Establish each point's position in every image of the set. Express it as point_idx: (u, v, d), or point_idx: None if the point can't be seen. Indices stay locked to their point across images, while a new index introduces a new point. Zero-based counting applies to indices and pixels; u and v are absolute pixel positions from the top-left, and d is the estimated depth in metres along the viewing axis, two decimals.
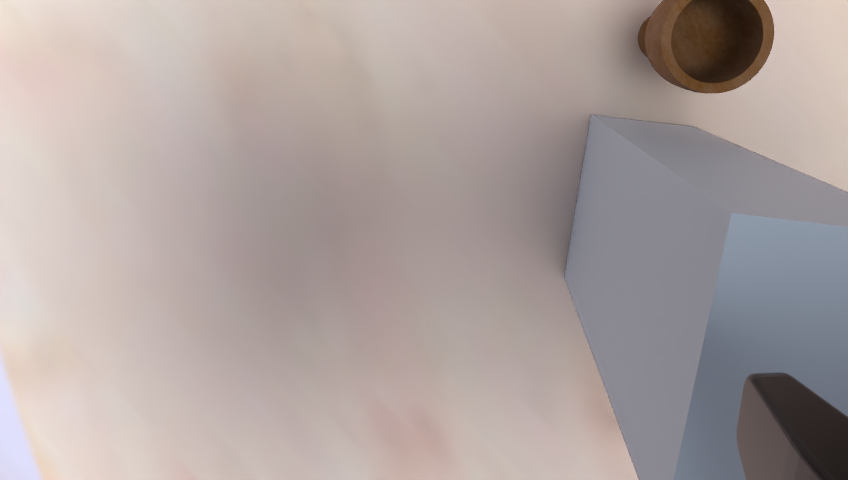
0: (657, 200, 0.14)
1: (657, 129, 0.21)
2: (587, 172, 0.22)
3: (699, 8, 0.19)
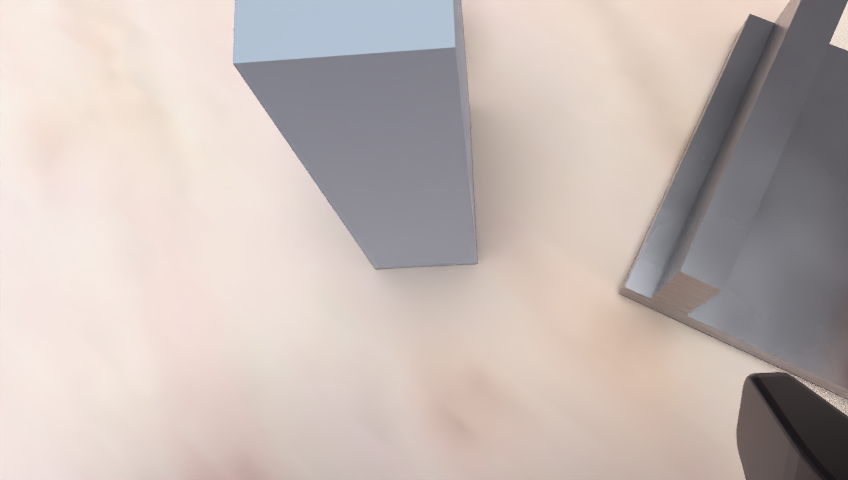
0: None
1: None
2: None
3: None
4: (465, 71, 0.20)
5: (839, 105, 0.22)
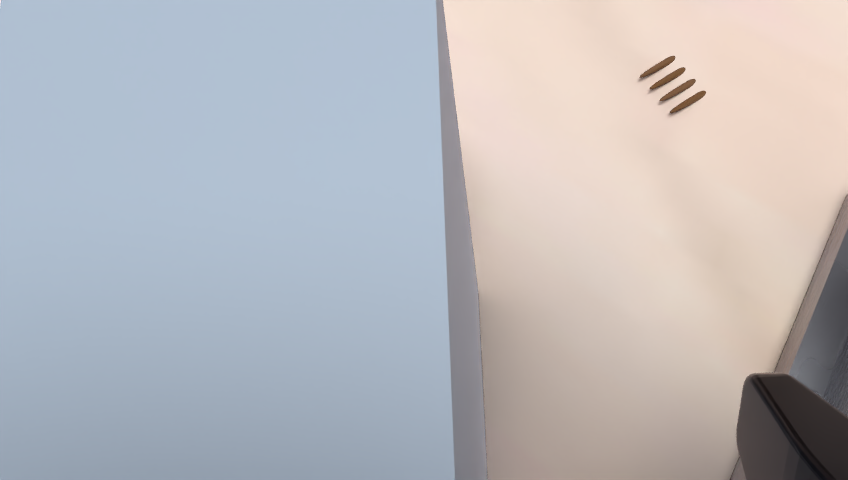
0: None
1: None
2: None
3: None
4: (475, 308, 0.13)
5: None
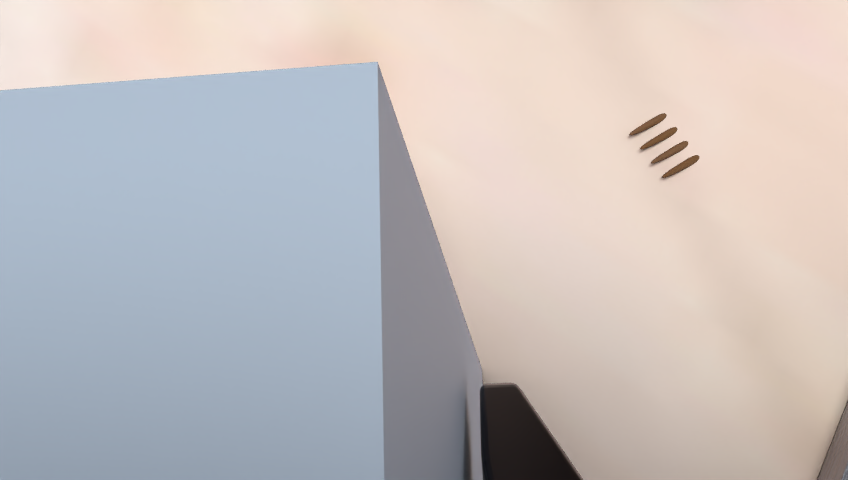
0: None
1: None
2: None
3: None
4: (475, 424, 0.11)
5: None
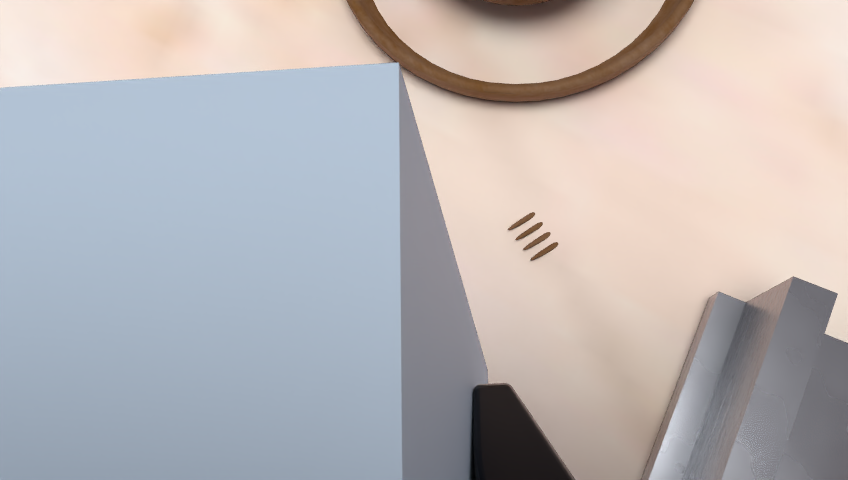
0: None
1: None
2: None
3: None
4: None
5: (819, 399, 0.20)
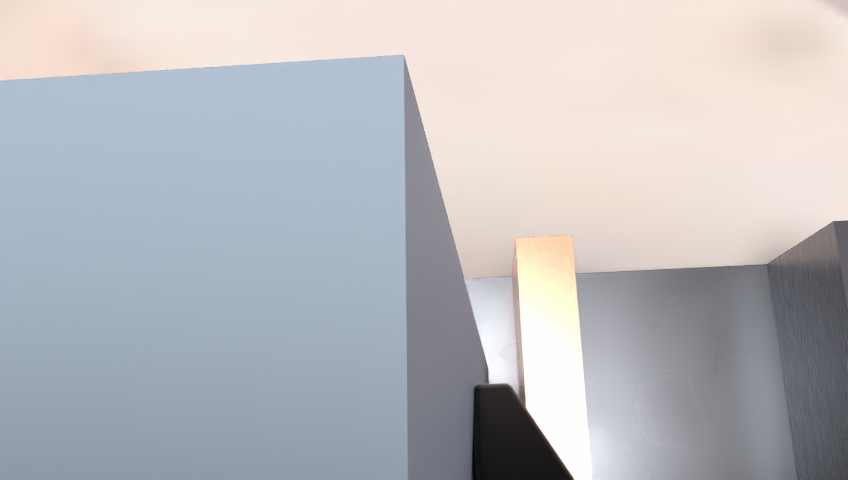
0: None
1: None
2: None
3: None
4: None
5: None
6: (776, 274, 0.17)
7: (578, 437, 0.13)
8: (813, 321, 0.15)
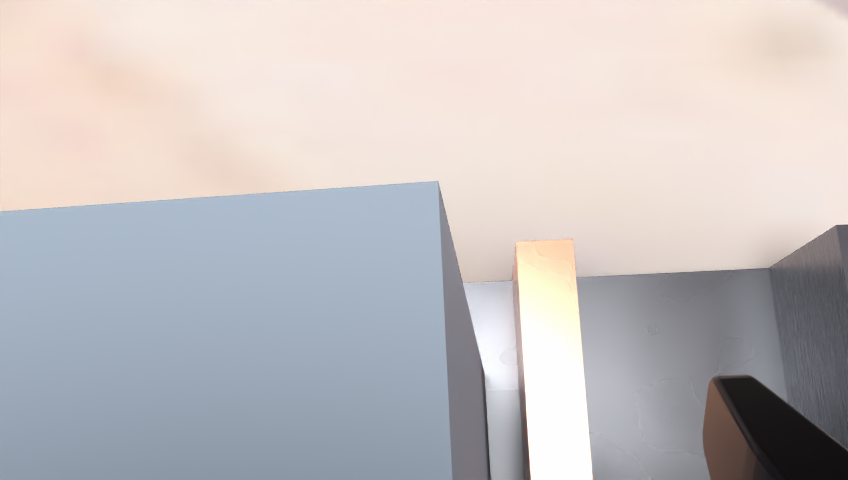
0: None
1: None
2: None
3: None
4: (483, 425, 0.12)
5: None
6: (778, 278, 0.16)
7: (579, 443, 0.13)
8: (816, 325, 0.15)
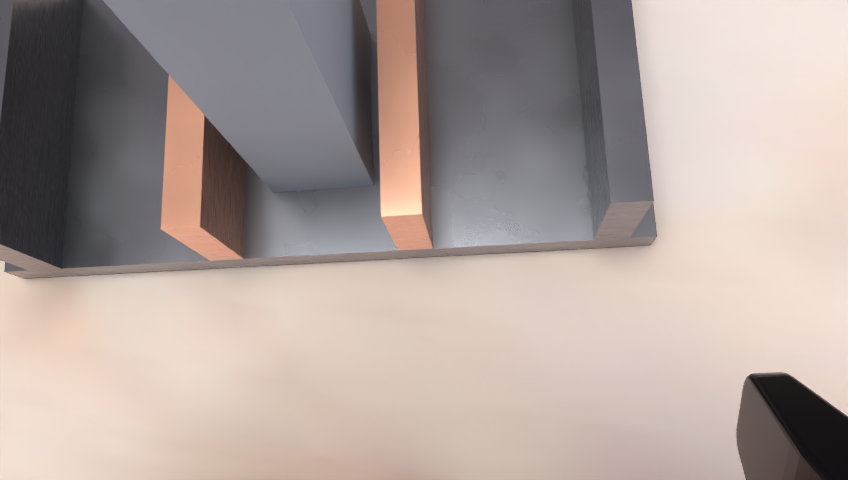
0: None
1: None
2: None
3: None
4: None
5: (125, 40, 0.25)
6: None
7: (408, 10, 0.20)
8: None
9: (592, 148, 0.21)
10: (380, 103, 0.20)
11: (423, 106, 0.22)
